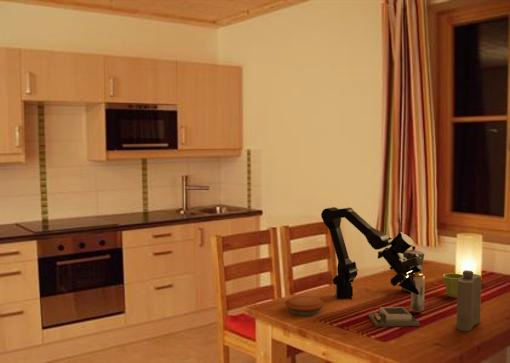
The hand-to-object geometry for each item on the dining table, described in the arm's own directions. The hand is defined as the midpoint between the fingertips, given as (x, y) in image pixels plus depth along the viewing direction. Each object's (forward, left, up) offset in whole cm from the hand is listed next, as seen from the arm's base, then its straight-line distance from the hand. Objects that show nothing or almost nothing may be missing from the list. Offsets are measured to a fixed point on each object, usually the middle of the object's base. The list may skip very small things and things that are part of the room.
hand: (421, 292), depth 211 cm
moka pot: (+6, +31, -8) cm, 33 cm away
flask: (+13, -14, -9) cm, 21 cm away
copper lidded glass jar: (-1, +1, -7) cm, 7 cm away
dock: (-13, -8, -8) cm, 17 cm away
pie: (-45, +5, -9) cm, 46 cm away
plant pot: (+22, +23, -9) cm, 33 cm away
